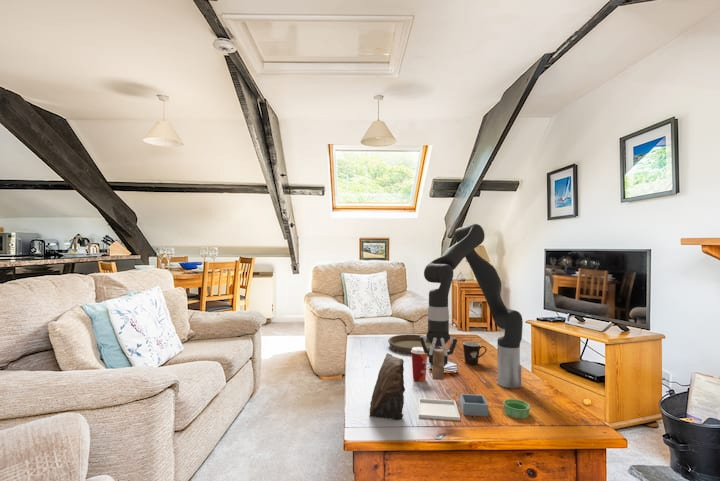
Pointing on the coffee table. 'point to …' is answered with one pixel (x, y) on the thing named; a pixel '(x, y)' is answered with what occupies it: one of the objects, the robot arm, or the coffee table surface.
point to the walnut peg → (438, 364)
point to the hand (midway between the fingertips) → (438, 364)
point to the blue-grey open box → (473, 405)
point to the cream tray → (438, 409)
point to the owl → (389, 390)
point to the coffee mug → (472, 352)
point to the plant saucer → (407, 343)
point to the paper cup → (419, 364)
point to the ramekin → (516, 408)
